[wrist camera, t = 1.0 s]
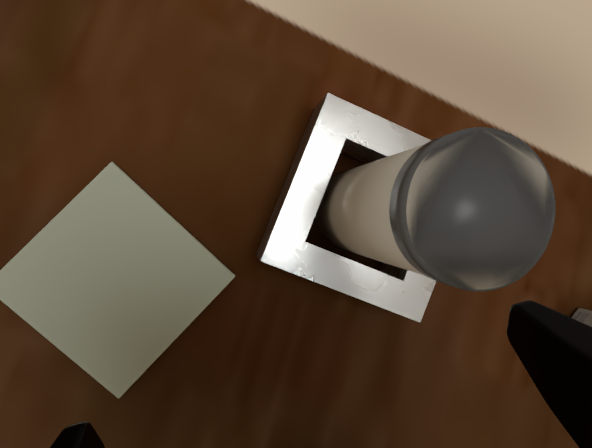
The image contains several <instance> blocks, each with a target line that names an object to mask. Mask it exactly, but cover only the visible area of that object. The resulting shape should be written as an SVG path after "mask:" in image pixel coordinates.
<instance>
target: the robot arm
mask: <svg viewBox="0 0 592 448" xmlns="http://www.w3.org/2000/svg"><path fill="white" fill-rule="evenodd" d="M507 336H508V339H509V341H510V343H511V345H512V347H513V348H514V350H515V352H516V353H517V355H518V357H519V358H520V360H521V362H522V363H523V365H524V367H525V368H526V370H527V372H528V373H529V375H530V377H531V378H532V380H533V382H534V383H535V385H536V387H537V388H538V390H539V392H540V393H541V395H542V397H543V398H544V400H545V401H546V403H547V404H548V406H549V407H550V409H551V410H552V411H553V413H554V414H555V416H556V417H557V418H558V420H559V421H560V422H561V424H562V425H563V426H564V428H565V429H566V430H567V432H568V433H569V434H570V436H571V437H572V438H573V440H574V441H575V443H576V444H577V445H578V447H579V448H592V327H591V326H589V325H587V324H584V323H582V322H580V321H577V320H575V319H573V318H571V317H568V316H566V315H564V314H561V313H559V312H557V311H555V310H552V309H550V308H548V307H545V306H543V305H541V304H539V303H536V302H534V301H524V302H520V303H517V304H514V305H512V307H511V308H510V314H509V320H508V327H507ZM50 448H105V447H104V444H103V442H102V441H101V439H100V438H99V436H98V434H97V433H96V431H95V430H94V428H93V426H92V425H91V424H90V423H89V422H87V421H84V422H80V423H77V424H73V425H70V426H67V427H66V428H65V429H64V430H63V431H62V432H61V433H60V435H59V436H58V437H57V439H56V440H55V441H54V443H53V444H52V446H51V447H50Z"/></svg>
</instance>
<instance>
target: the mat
mask: <svg viewBox="0 0 592 448" xmlns="http://www.w3.org/2000/svg"><path fill="white" fill-rule="evenodd" d="M234 277H235V275H234V274H233V273H232V272H231V271H230V270H229V269H228V268H227V267H226V266H225V265H224V264H223V263H221V262H220V261H219V260H218V259H217V258H216V257H215V256H214V255H213V254H212V253H211V252H210V251H209V250H207V249H206V248H205V247H204V246H203V245H202V244H201V243H200V242H199V241H198V240H197V239H196V238H195V237H193V236H192V235H191V234H190V233H189V232H188V231H187V230H186V229H185V228H184V227H183V226H182V225H181V224H179V223H178V222H177V221H176V220H175V219H174V218H173V217H172V216H171V215H170V214H169V213H168V212H167V211H165V210H164V209H163V208H162V207H161V206H160V205H159V204H158V203H157V202H156V201H155V200H154V199H153V198H151V197H150V196H149V195H148V194H147V193H146V192H145V191H144V190H143V189H142V188H141V187H140V186H139V185H137V184H136V183H135V182H134V181H133V180H132V179H131V178H130V177H129V176H128V175H127V174H126V173H125V172H123V171H122V170H121V169H120V168H119V167H118V166H117V165H116V164H115V163H114V162H111V163H110V164H109V165H108V166H107V167H106V168H105V169H103V170H102V171H101V172H100V173H99V174H98V175H97V176H96V177H95V178H94V179H93V180H92V181H91V182H90V183H89V184H88V185H87V186H86V187H85V188H84V189H83V190H82V191H81V192H80V193H79V194H78V195H77V196H76V197H75V198H74V199H73V200H72V201H71V202H70V203H69V204H68V205H67V206H66V207H65V208H64V209H63V210H62V211H61V212H60V213H59V214H58V215H56V216H55V217H54V218H53V219H52V220H51V221H50V222H49V223H48V224H47V225H46V226H45V227H44V228H43V229H42V230H41V231H40V232H39V233H38V234H37V235H36V236H35V237H34V238H33V239H32V240H31V241H30V242H29V243H28V244H27V245H26V246H25V247H24V248H23V249H22V250H21V251H20V252H19V253H18V254H17V255H16V256H15V257H14V258H13V259H12V260H11V261H9V262H8V263H7V264H6V265H5V266H4V267H3V268H2V269H1V270H0V300H1V301H2V302H3V303H4V304H6V305H7V306H8V307H9V308H10V309H12V310H13V311H14V312H15V313H16V314H18V315H19V316H20V317H21V318H22V319H24V320H25V321H26V322H27V323H28V324H30V325H31V326H32V327H33V328H34V329H36V330H37V331H38V332H39V333H40V334H42V335H43V336H44V337H45V338H46V339H48V340H49V341H50V342H51V343H52V344H54V345H55V346H56V347H57V348H58V349H59V350H61V351H62V352H63V353H64V354H65V355H67V356H68V357H69V358H70V359H71V360H73V361H74V362H75V363H76V364H77V365H79V366H80V367H81V368H82V369H83V370H85V371H86V372H87V373H88V374H89V375H91V376H92V377H93V378H94V379H95V380H97V381H98V382H99V383H100V384H101V385H103V386H104V387H105V388H106V389H107V390H109V391H110V392H111V393H112V394H113V395H114V396H116V397H117V398H118V399H119V398H120V397H121V396H122V395H123V394H124V393H125V392H126V391H127V390H128V389H129V388H130V386H131V385H132V384H133V383H134V382H135V381H136V380H137V379H138V378H139V377H140V376H141V375H142V374H143V373H144V372H145V371H146V370H147V369H148V368H149V367H150V365H151V364H152V363H153V362H154V361H155V360H156V359H157V358H158V357H159V356H160V355H161V354H162V353H163V352H164V351H165V350H166V349H167V348H168V347H169V346H170V345H171V343H172V342H173V341H174V340H175V339H176V338H177V337H178V336H179V335H180V334H181V333H182V332H183V331H184V330H185V329H186V328H187V327H188V326H189V325H190V324H191V322H192V321H193V320H194V319H195V318H196V317H197V316H198V315H199V314H200V313H201V312H202V311H203V310H204V309H205V308H206V307H207V306H208V305H209V304H210V303H211V302H212V300H213V299H214V298H215V297H216V296H217V295H218V294H219V293H220V292H221V291H222V290H223V289H224V288H225V287H226V286H227V285H228V284H229V283H230V282H231V281H232V279H233V278H234Z"/></svg>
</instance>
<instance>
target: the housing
mask: <svg viewBox="0 0 592 448" xmlns="http://www.w3.org/2000/svg"><path fill="white" fill-rule="evenodd" d="M430 141H431V140H429V139H427V138H425V137H423V136H420V135H418V134H416V133H414V132H412V131H410V130H407V129H405V128H403V127H401V126H399V125H397V124H394V123H392V122H390V121H388V120H386V119H384V118H381V117H379V116H377V115H375V114H373V113H371V112H368V111H366V110H364V109H362V108H360V107H358V106H356V105H353V104H351V103H349V102H347V101H345V100H343V99H340V98H338V97H336V96H334V95H332V94H330V93H327V95H326V96H325V97H324V98H323V99H322V100H321V101H320V103H319V104H318V105H317V106H316V107H315V108H314V110H313V113H312V115H311V118H310V120H309V123H308V125H307V128H306V130H305V133H304V135H303V138H302V140H301V143H300V145H299V148H298V150H297V153H296V155H295V158H294V160H293V162H292V165H291V167H290V170H289V172H288V175H287V177H286V180H285V182H284V185H283V187H282V190H281V192H280V195H279V197H278V200H277V202H276V205H275V207H274V210H273V212H272V215H271V217H270V220H269V222H268V225H267V227H266V230H265V232H264V235H263V237H262V240H261V242H260V245H259V247H258V250H257V252H256V256H257V257H258V258H259V260H260V261H262V262H264V263H267V264H269V265H272V266H274V267H277V268H280V269H282V270H285V271H287V272H290V273H293V274H295V275H298V276H300V277H303V278H306V279H308V280H311V281H313V282H316V283H319V284H321V285H324V286H326V287H329V288H332V289H334V290H337V291H339V292H342V293H345V294H347V295H350V296H352V297H355V298H358V299H360V300H363V301H365V302H368V303H371V304H373V305H376V306H378V307H381V308H383V309H386V310H389V311H391V312H394V313H396V314H399V315H402V316H404V317H407V318H409V319H412V320H415V321H417V322H421V319H422V317H423V314H424V312H425V309H426V306H427V304H428V301H429V299H430V296H431V293H432V291H433V288H434V286H435V283H436V281H435V280H433V279H431V278H429V277H426V276H424V275H421V274H418V273H415V272H412V271H409V270H406V269H402V268H399V267H396V266H393V265H390V264H387V263H383V266H382V268H381V271H377V270H375V269H372V268H370V267H367V266H365V265H362V264H360V263H357V262H355V261H352V260H350V259H347V258H345V257H342V256H340V255H337V254H335V253H332V252H330V251H327V250H325V249H322V248H320V247H317V246H315V245H312V244H310V243H307V242H305V240H306V238H307V235H308V233H309V230H310V228H311V225H312V223H313V220H314V218H315V215H316V213H317V210H318V208H319V205H320V203H321V200H322V198H323V195H324V192H325V190H326V187H327V185H328V182H329V180H330V177H331V175H332V172H333V170H334V167H335V165H336V162H337V160H338V157H339V155H340V153H342V154H345V155H347V156H349V157H351V158H354V159H356V160H358V161H361V162H363V163H365V164H367V163H370V162H373V161H376V160H379V159H382V158H385V157H388V156H391V155H394V154H397V153H400V152H403V151H406V150H409V149H412V148H415V147H418V146H421V145H424V144H426V143H428V142H430Z"/></svg>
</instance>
